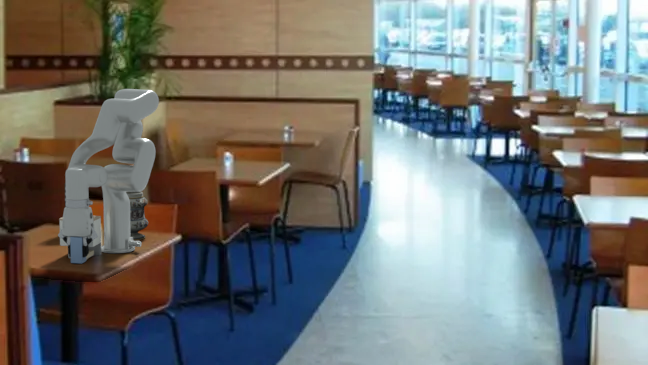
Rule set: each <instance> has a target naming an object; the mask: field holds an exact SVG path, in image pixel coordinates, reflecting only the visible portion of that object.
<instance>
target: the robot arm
mask: <svg viewBox="0 0 648 365" xmlns="http://www.w3.org/2000/svg"><path fill="white" fill-rule="evenodd" d="M159 103H160V99H159V96H158V94H157V92H155V91H154V90H151V89H137V88H135V89H134V88H123V89H119V90H117V91H116V92H115V94H114V98H108V99H106V100H104V101H103V103H102V105H101V107H100V110H99V113H98V116H97V119H96V122H95V125H94V127H93V130H92V134H90V136H89V137H87V139H85V140H84V141H83V142H82V143H81V144H80V145H79V146H78V147H77V148H76V149H75V151H73V153H72V156H71V159H70V161H69V163H68V167H67V169H66V170H65V174H64V176H65V183H66V207H65V206H64V208H63V214H62V217H63V221H62V229H61V231H60V230H59V233H58V234H57V236H58V237H59V239H60V238H62V239H63V240H64V241H65V242H66V243H67V245H68V246H67V254H69V257H71V247H70V237H82V239H83V246H82V254H83V257H86V256H87V255H88V253H89V244H90V243H91V242H92V241H93V240H94V239H96V238H97V237H98V235H97V233H96V232H95V230H94V220H93V216H94V215H93V210H92V207H91V206H93V203H94V202H93V201H92V200H90V198H89V197H90V196H89V193H90V192H89V188H99V187H101V190H102V198H103V199H102V202H103V245H101V253H105V254H125V253H131V252H134V251H136V250H135V249H136V248H139V247H140V248H141V247H142V241H140V240H133V237H130V200H129V197H128V195H127V193H126V191H127V192H143V191H144V190H145V189H146V187H147V185H148V183H149V181H150V180H149V179H150V177H151V173H152V169H153V167H154V163H155V159H156V153H157V152H156V147H155V146H156V145H155V144H154V142H153V141H152V140H151V139H148V138H143V137H142V135H143V131H144V126H143V122H142V120H143V119H145V118H147V117H149V116H150V115H152V114H153V113H155V112H156V110H157V109H158V107H159ZM112 146H113V148H112V158H113V160H114V161H116V162H118V164H117V163H114V164H113V163H111V164H108V165H105V166H104V167H103V166H101V165H96V164H87V161H88V160H89V159H90V158H91V157H92V156H93V155H95V154H97V153H98V152H100V151H103V150H105V149H108V148H110V147H112ZM119 163H122V164H119ZM130 164H132V165H130ZM90 235H92V237H91V238H89V236H90ZM67 236H68V237H67Z"/></svg>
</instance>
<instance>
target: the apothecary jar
mask: <svg viewBox="0 0 648 365" xmlns="http://www.w3.org/2000/svg"><path fill="white" fill-rule="evenodd" d="M126 193H127V195H128V197H129V200H130V237H133V240H134V241H140V240H143V239H144V240H145V239H146V235H145V234H142V233H141V231H143V230H145V229H146V228H147V227H148V226H149V221H148V219H147V218H146V217H145V207H147V205H148V199H147V198H146V197H144V192H143V191H141V192H127V191H126Z"/></svg>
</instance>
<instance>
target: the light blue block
mask: <svg viewBox="0 0 648 365" xmlns="http://www.w3.org/2000/svg"><path fill="white" fill-rule="evenodd" d="M82 246H83V239H82V237H70V247H71V258H70V264H84V263H85V262H87V260H88V259H89V258H91V257H93V256H95V255H94V250H89V253H88V255H87V256H86V257H83V254H82Z"/></svg>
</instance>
